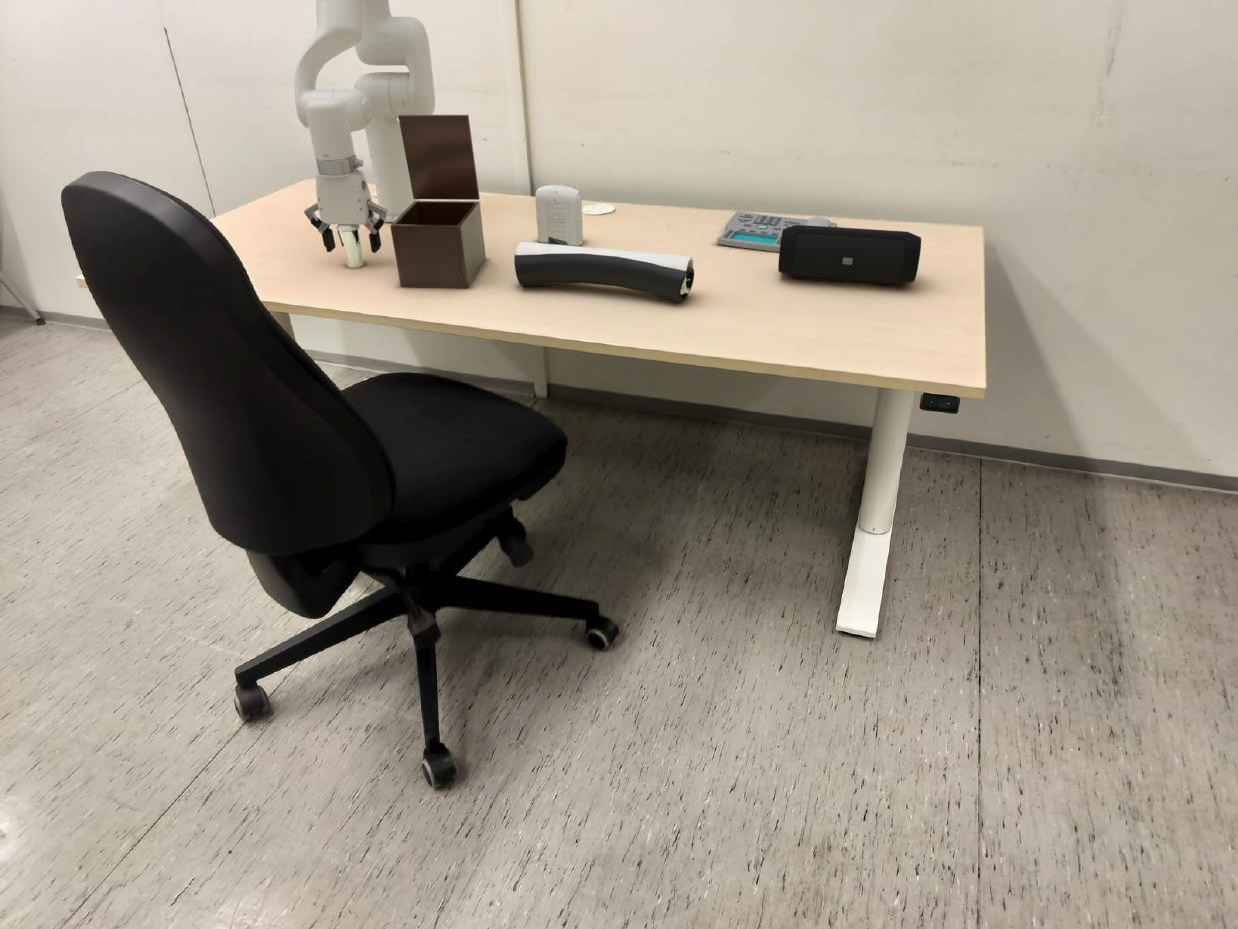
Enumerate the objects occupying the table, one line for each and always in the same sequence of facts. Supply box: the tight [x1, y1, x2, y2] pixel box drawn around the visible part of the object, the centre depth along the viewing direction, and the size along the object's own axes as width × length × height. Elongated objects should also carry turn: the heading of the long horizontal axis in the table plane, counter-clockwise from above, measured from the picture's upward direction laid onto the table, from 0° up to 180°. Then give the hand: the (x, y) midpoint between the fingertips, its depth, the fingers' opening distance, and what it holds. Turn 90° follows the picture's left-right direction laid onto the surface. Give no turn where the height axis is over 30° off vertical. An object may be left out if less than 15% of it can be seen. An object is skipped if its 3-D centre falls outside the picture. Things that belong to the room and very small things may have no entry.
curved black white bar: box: [513, 237, 695, 303], centre depth 163 cm, size 35×9×14 cm
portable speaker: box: [777, 225, 922, 287], centre depth 163 cm, size 26×10×10 cm, turn 75°
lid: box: [398, 114, 481, 201], centre depth 168 cm, size 16×14×1 cm
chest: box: [389, 200, 487, 289], centre depth 170 cm, size 16×14×12 cm
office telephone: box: [716, 211, 838, 253], centre depth 187 cm, size 23×3×20 cm
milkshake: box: [336, 224, 364, 269], centre depth 176 cm, size 5×5×10 cm
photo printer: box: [535, 184, 584, 247], centre depth 184 cm, size 10×4×12 cm, turn 72°
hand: (353, 250), depth 177 cm, fingers open, 9 cm apart
